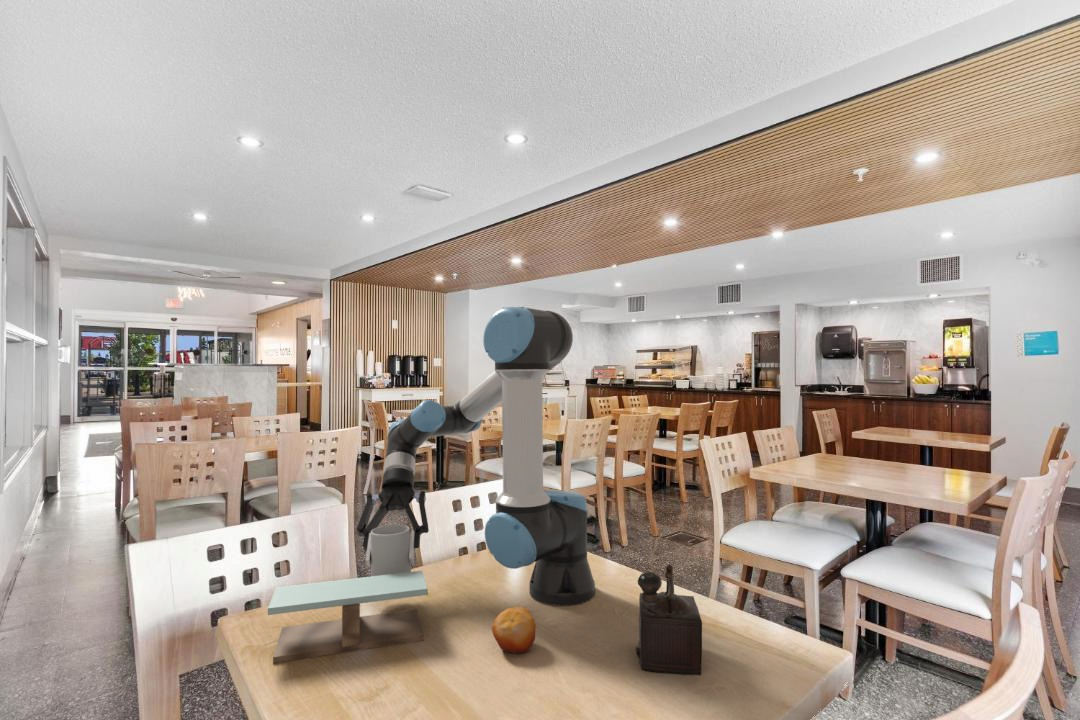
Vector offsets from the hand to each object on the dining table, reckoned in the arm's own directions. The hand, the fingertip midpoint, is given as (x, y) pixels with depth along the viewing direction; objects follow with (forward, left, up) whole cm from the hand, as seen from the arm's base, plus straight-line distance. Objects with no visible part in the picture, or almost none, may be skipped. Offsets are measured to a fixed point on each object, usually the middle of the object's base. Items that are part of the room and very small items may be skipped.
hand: (389, 562), depth 120 cm
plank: (-5, +13, -2) cm, 14 cm away
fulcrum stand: (-5, +13, -10) cm, 17 cm away
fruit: (-33, -3, -10) cm, 35 cm away
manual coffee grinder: (-58, -15, -10) cm, 61 cm away
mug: (+2, -3, -5) cm, 6 cm away
